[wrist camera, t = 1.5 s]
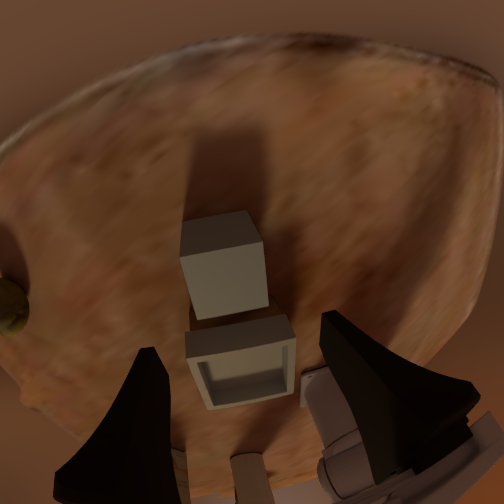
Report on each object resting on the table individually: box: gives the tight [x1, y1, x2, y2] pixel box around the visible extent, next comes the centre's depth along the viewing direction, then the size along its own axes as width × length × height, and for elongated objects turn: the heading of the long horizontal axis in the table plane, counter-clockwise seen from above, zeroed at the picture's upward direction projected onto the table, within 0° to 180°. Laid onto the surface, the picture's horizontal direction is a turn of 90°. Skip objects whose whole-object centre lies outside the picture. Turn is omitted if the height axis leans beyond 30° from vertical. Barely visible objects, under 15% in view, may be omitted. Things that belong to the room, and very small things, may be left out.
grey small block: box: [179, 210, 269, 320], centre depth 18 cm, size 4×4×5 cm
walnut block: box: [189, 296, 281, 331], centre depth 23 cm, size 7×7×3 cm
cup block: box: [185, 314, 296, 410], centre depth 21 cm, size 8×8×3 cm
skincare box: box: [171, 448, 191, 504], centre depth 29 cm, size 6×4×12 cm
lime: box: [0, 278, 29, 337], centre depth 16 cm, size 4×5×5 cm
